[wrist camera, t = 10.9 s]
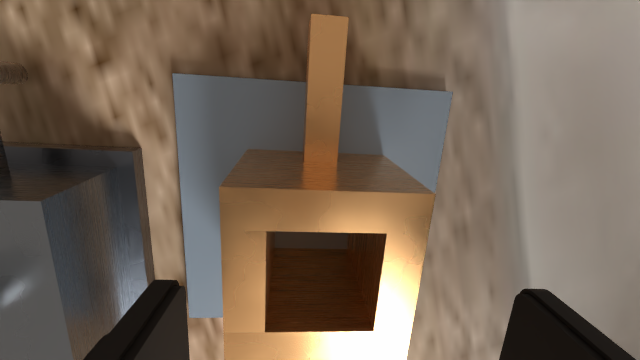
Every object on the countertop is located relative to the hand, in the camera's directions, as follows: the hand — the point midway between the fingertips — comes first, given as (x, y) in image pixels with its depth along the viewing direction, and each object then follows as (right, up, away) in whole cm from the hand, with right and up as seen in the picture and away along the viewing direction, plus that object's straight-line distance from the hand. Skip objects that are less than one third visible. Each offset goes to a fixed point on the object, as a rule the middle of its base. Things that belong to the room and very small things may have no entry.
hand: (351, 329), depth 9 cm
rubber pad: (-1, +3, +7) cm, 7 cm away
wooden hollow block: (-1, +5, +6) cm, 7 cm away
